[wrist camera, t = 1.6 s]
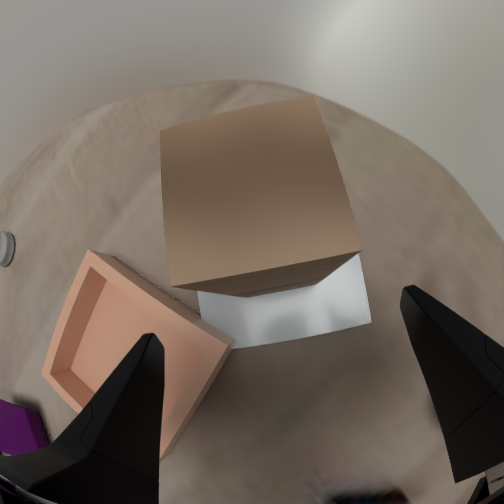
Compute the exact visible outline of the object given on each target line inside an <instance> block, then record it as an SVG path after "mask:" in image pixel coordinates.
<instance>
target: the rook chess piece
mask: <svg viewBox="0 0 504 504" xmlns="http://www.w3.org/2000/svg"><path fill="white" fill-rule="evenodd" d="M14 250H15V243H14V239H13V237H12V235H11V234H10V233H9V232H8V233H5V232H4V231H3V232H0V265H1V266H3V267H4V266H7V265H8V264H9V263H10V262H11V260H12V258H13V255H14Z"/></svg>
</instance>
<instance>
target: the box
mask: <svg viewBox="0 0 504 504" xmlns="http://www.w3.org/2000/svg"><path fill="white" fill-rule="evenodd" d="M145 333H155V334H156V336H157V337H158V339H159V340H160V341H161V343H162V344H163V346H164V349H165V390H164V401H163V413H162V426H161V441H160V461H159V464H160V463H161V462H162V461H163V460H164V459H165V458H166V456H167V455H168V454H169V453H170V451H171V450H172V448H173V447H174V445H175V444H176V442H177V440H178V439H179V437H180V436H181V434H182V432H183V431H184V429H185V428H186V426H187V424H188V423H189V421H190V420H191V418H192V416H193V415H194V413H195V411H196V410H197V408H198V406H199V405H200V403H201V402H202V400H203V398H204V397H205V395H206V393H207V392H208V390H209V388H210V387H211V385H212V383H213V382H214V380H215V378H216V377H217V375H218V373H219V371H220V370H221V368H222V366H223V365H224V363H225V361H226V360H227V358H228V356H229V354H230V353H231V351H232V349H231V348H232V347H233V345H234V343H235V341H236V339H234V338H232V337H230V336H229V335H227V334H225V333H224V332H222V331H220V330H219V329H217V328H215V327H214V326H212V325H210V324H209V323H207V322H206V321H204V320H202V319H201V315H199V314H198V313H196V312H195V311H193V310H191V309H190V308H188V307H187V306H185V305H184V304H182V303H180V302H179V301H177V300H176V299H174V298H173V297H171V296H170V295H168V294H167V293H165V292H164V291H162V290H161V289H159V288H158V287H156V286H155V285H153V284H152V283H150V282H149V281H148V280H146V279H145V278H143V277H142V276H140V275H139V274H138V273H136V272H135V271H133V270H132V269H130V268H129V267H128V266H126V265H125V264H124V263H122V262H121V261H119V260H118V259H117V258H115V257H114V256H110V255H107V254H104V253H101V252H97V251H94V250H91V249H88V250H87V253H86V255H85V257H84V259H83V261H82V263H81V265H80V268H79V270H78V272H77V274H76V277H75V279H74V281H73V284H72V286H71V288H70V291H69V293H68V296H67V298H66V301H65V303H64V306H63V309H62V311H61V314H60V317H59V319H58V322H57V325H56V328H55V331H54V334H53V337H52V340H51V343H50V346H49V349H48V353H47V356H46V360H45V363H44V367H43V370H42V376H43V377H44V378H45V379H46V380H47V381H48V383H49V384H50V385H51V386H52V387H53V388H54V389H55V390H56V392H57V393H58V394H59V395H60V396H61V397H62V398H63V399H64V400H65V401H66V402H67V403H68V404H69V405H70V406H71V407H72V408H73V409H74V410H75V411H76V412H77V413H78V414H79V413H80V412H81V411H82V409H83V408H84V407H85V406H86V404H87V403H88V402H89V401H90V400H91V398H92V397H93V395H94V394H95V393H96V392H97V390H98V389H99V388H100V387H101V385H102V384H103V383H104V382H105V380H106V379H107V378H108V377H109V375H110V374H111V373H112V372H113V370H114V369H115V368H116V367H117V365H118V364H119V363H120V362H121V360H122V359H123V358H124V357H125V355H126V354H127V353H128V352H129V351H130V349H131V348H132V347H133V346H134V344H135V343H136V342H137V341H138V340H139V338H140V337H141V336H142V335H143V334H145Z"/></svg>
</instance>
